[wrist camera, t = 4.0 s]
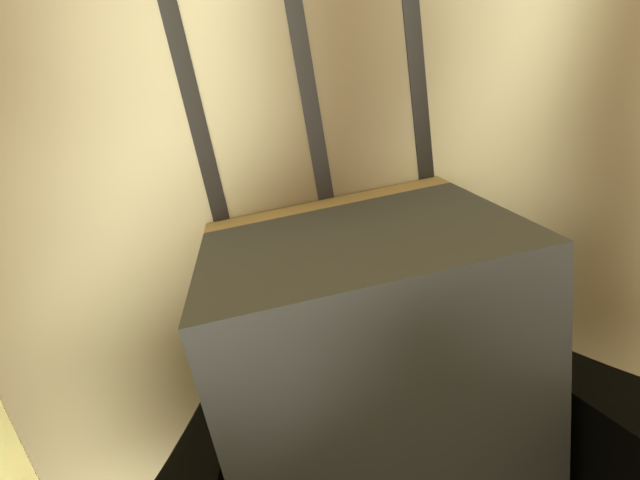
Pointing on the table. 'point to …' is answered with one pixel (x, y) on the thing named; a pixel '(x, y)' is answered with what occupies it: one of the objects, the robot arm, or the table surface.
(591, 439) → the robot arm
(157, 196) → the board
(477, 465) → the block
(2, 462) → the table surface
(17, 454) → the table surface
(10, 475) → the table surface
